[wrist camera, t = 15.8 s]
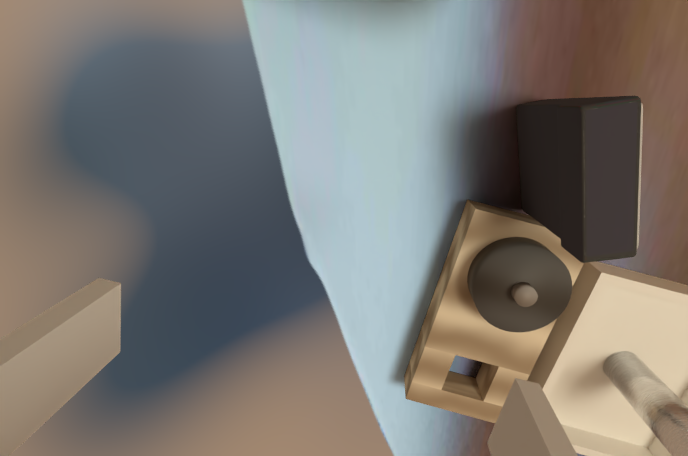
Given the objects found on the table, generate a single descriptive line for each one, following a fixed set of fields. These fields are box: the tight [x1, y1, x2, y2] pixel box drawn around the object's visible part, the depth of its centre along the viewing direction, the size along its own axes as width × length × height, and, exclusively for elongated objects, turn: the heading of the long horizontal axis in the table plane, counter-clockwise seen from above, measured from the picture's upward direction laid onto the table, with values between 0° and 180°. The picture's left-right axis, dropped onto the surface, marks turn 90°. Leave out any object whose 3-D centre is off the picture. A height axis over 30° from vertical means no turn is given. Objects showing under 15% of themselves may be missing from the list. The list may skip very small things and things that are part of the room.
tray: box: [527, 261, 688, 456], centre depth 44 cm, size 22×18×4 cm
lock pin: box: [603, 351, 688, 456], centre depth 38 cm, size 4×4×14 cm
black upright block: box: [516, 96, 643, 263], centre depth 33 cm, size 11×4×15 cm, turn 11°
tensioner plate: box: [404, 200, 584, 423], centre depth 41 cm, size 24×12×8 cm, turn 167°
